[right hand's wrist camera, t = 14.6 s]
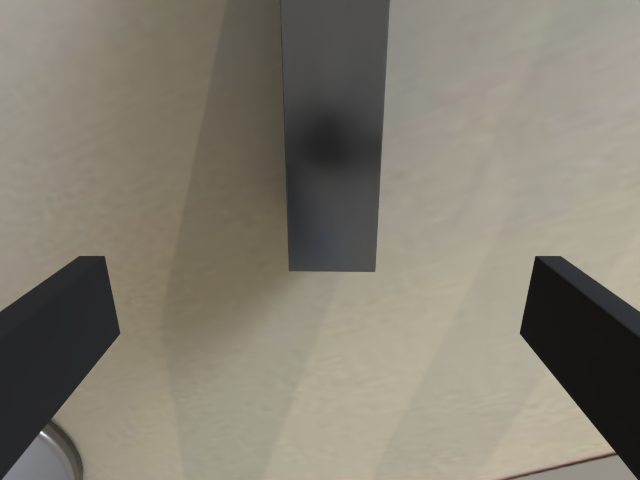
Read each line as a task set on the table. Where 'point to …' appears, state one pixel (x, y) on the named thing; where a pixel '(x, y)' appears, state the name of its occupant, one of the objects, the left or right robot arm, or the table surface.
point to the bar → (333, 130)
